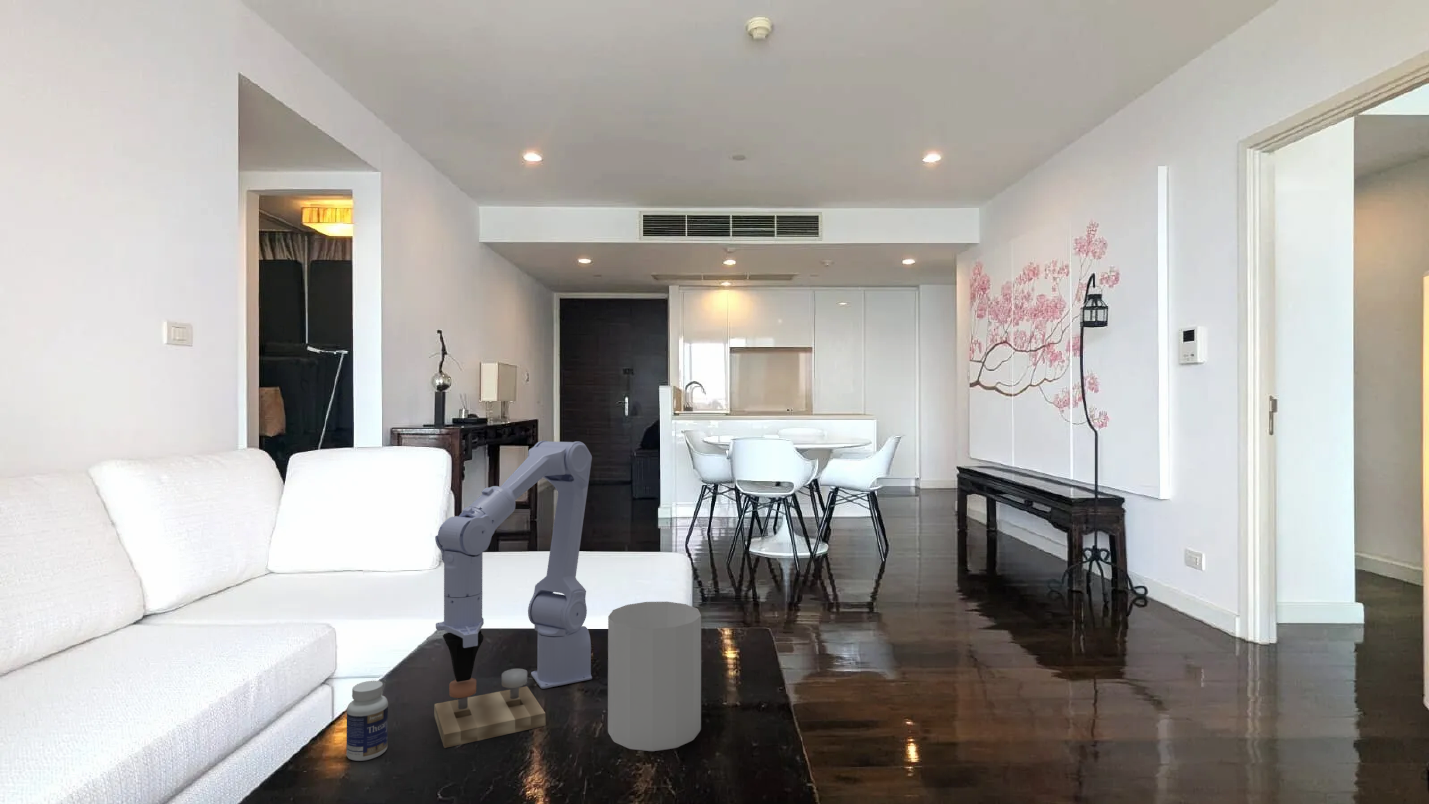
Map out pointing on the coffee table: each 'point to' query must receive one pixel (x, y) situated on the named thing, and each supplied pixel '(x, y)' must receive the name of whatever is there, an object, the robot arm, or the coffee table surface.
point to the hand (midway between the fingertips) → (462, 679)
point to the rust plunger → (462, 691)
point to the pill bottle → (367, 722)
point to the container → (654, 675)
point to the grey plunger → (514, 681)
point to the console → (487, 717)
